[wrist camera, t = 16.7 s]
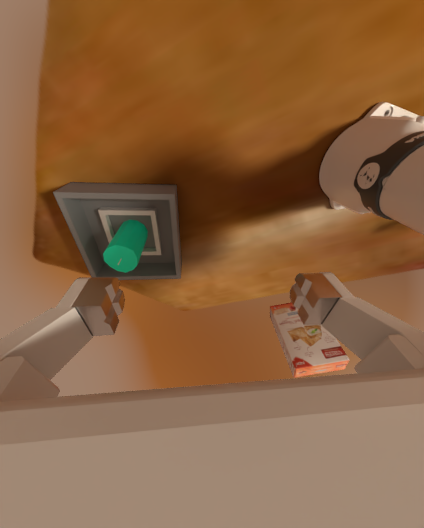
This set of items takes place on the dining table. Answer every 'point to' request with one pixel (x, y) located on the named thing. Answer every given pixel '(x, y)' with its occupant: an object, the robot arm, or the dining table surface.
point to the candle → (126, 246)
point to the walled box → (111, 218)
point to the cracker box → (306, 343)
